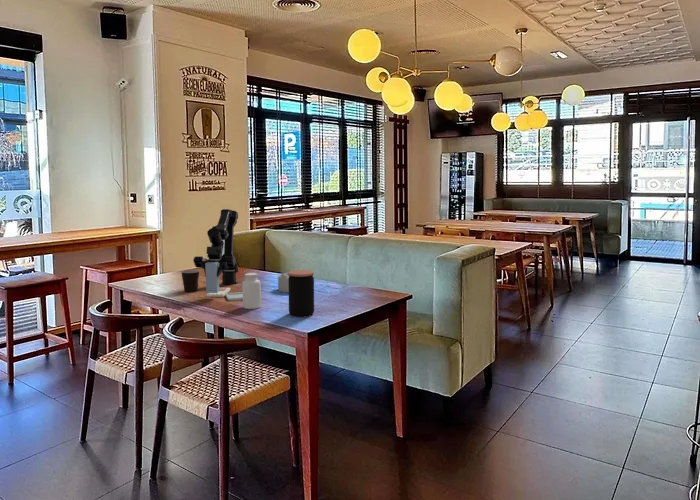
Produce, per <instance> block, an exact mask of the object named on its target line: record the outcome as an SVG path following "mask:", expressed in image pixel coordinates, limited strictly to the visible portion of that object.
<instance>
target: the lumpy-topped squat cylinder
mask: <svg viewBox="0 0 700 500" xmlns="http://www.w3.org/2000/svg"><path fill="white" fill-rule="evenodd" d="M288 272H289V271H287V272H285V273H284V272H283V273H281V274H279V275H278V276H277V287H278V289H277V290H278V291H279V292H281V291H282V293H288V294H289V283H288V278H289V277H290V276H289V274H288Z"/></svg>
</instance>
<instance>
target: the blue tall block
mask: <svg viewBox="0 0 700 500" xmlns="http://www.w3.org/2000/svg"><path fill="white" fill-rule="evenodd" d="M205 268H206V276H205V291H206V294H208V293H218V292H219V288H220V276H219V277H217V272H218V268H219V264H218V262H207V263H205Z"/></svg>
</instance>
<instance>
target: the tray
mask: <svg viewBox="0 0 700 500" xmlns="http://www.w3.org/2000/svg"><path fill="white" fill-rule="evenodd" d="M224 297H226V300H227V301H228V302H232V301H243V291H241V292H240V291H238V292H237V291H236V292H228V293H225V296H224Z"/></svg>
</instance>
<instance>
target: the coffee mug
mask: <svg viewBox="0 0 700 500" xmlns="http://www.w3.org/2000/svg"><path fill="white" fill-rule="evenodd" d="M181 278H182V285H183V290H184V293H196V292H198V291H199V290H198V289H199V279H200V270H198V269H188V270H187V269H185V270H181Z"/></svg>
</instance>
